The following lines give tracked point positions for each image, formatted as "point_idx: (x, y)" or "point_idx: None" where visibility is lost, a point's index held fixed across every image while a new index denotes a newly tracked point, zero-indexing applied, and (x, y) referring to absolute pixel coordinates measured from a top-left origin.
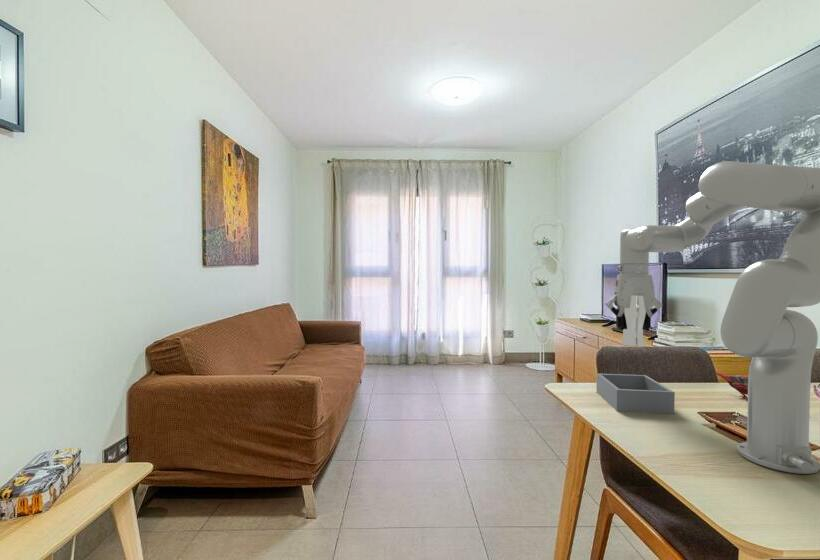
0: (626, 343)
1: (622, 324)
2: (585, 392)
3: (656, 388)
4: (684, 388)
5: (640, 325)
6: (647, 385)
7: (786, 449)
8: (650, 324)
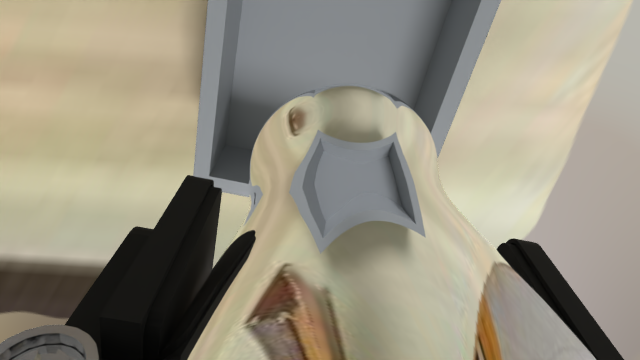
0: (434, 147)
1: (562, 287)
2: (445, 180)
3: (228, 37)
4: (21, 197)
5: (342, 188)
6: (220, 127)
7: None
8: (122, 244)
